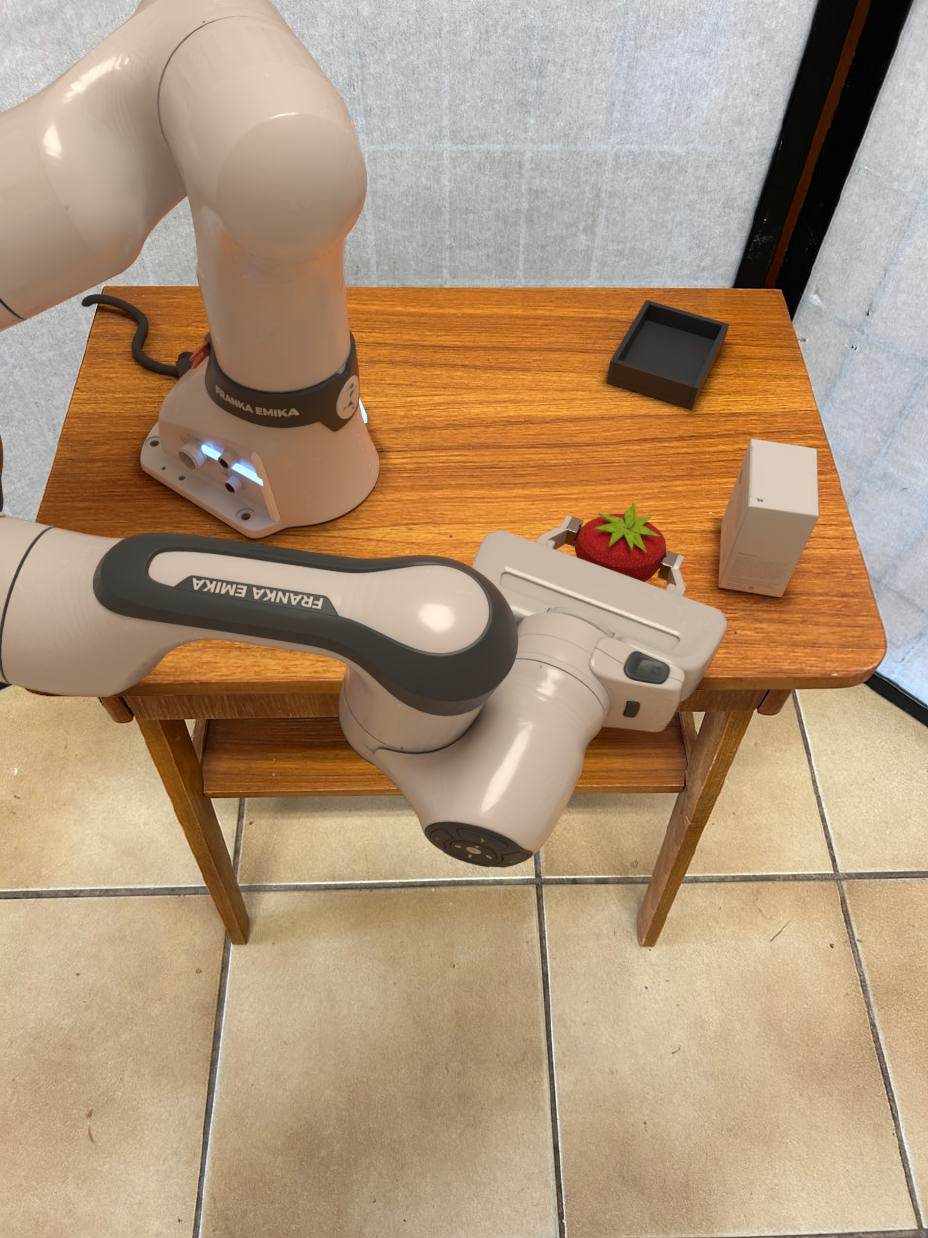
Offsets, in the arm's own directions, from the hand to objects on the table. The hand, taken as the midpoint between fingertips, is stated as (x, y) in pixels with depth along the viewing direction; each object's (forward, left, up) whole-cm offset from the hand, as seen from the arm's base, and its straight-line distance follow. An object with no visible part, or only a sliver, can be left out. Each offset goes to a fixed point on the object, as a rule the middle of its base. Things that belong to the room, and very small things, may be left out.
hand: (624, 540), depth 78 cm
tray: (-5, +30, -6) cm, 31 cm away
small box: (+10, +8, -6) cm, 14 cm away
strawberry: (0, -1, -6) cm, 6 cm away
